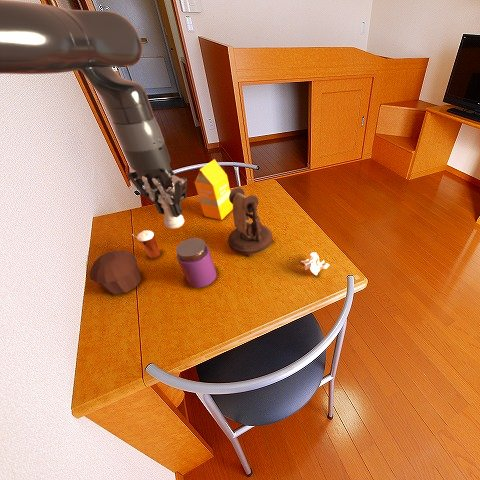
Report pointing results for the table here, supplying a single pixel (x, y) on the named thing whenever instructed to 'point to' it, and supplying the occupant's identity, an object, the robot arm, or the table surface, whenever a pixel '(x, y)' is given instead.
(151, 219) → the table surface
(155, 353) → the table surface
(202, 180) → the orange juice
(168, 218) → the rook chess piece
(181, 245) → the jar lid
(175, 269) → the table surface
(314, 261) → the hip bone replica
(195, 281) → the jar
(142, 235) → the milkshake
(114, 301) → the table surface
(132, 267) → the muffin
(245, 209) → the scroll
